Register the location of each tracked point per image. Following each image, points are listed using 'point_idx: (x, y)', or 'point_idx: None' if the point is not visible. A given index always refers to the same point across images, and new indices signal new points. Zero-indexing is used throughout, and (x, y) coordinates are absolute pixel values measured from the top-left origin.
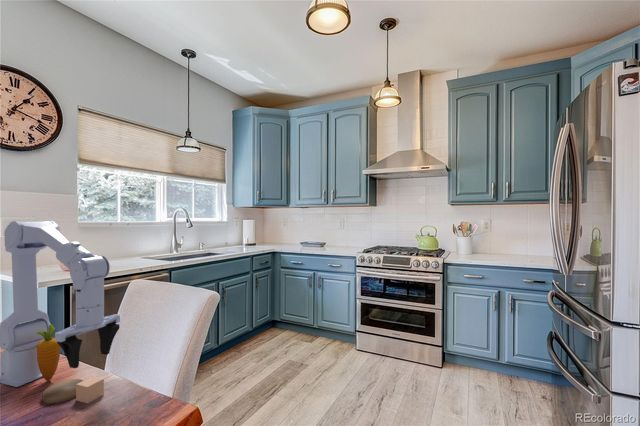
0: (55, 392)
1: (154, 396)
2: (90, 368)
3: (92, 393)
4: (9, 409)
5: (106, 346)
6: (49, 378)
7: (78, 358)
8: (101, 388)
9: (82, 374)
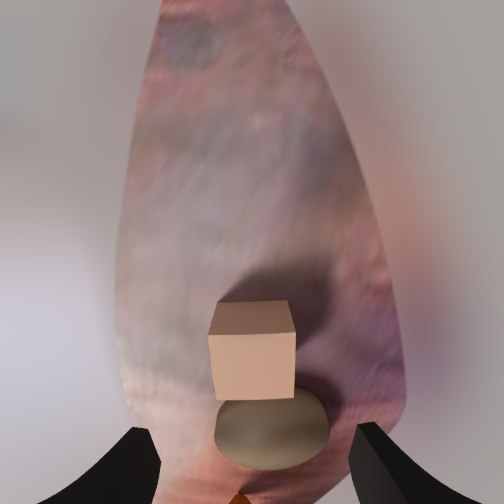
0: (306, 431)
1: (149, 81)
2: None
3: (268, 313)
4: None
5: (130, 476)
6: (241, 497)
7: (385, 462)
8: (225, 315)
9: (173, 463)
